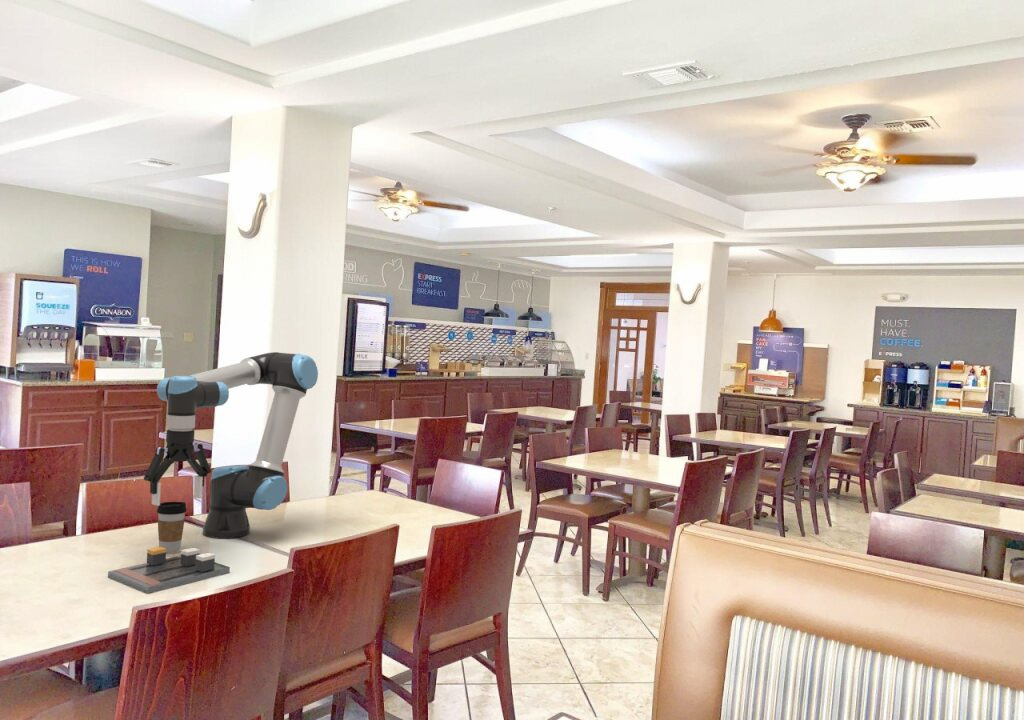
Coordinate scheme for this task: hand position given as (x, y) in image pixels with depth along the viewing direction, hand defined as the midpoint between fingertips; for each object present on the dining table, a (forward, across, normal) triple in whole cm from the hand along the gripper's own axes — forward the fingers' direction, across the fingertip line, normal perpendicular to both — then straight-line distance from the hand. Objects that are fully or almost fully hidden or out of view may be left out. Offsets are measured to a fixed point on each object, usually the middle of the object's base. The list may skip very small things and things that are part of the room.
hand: (177, 501), depth 224 cm
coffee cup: (+19, -7, -13) cm, 24 cm away
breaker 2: (+17, 0, +15) cm, 22 cm away
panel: (+19, +6, +8) cm, 21 cm away
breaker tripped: (+17, +6, 0) cm, 18 cm away
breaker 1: (+17, 0, +8) cm, 18 cm away
